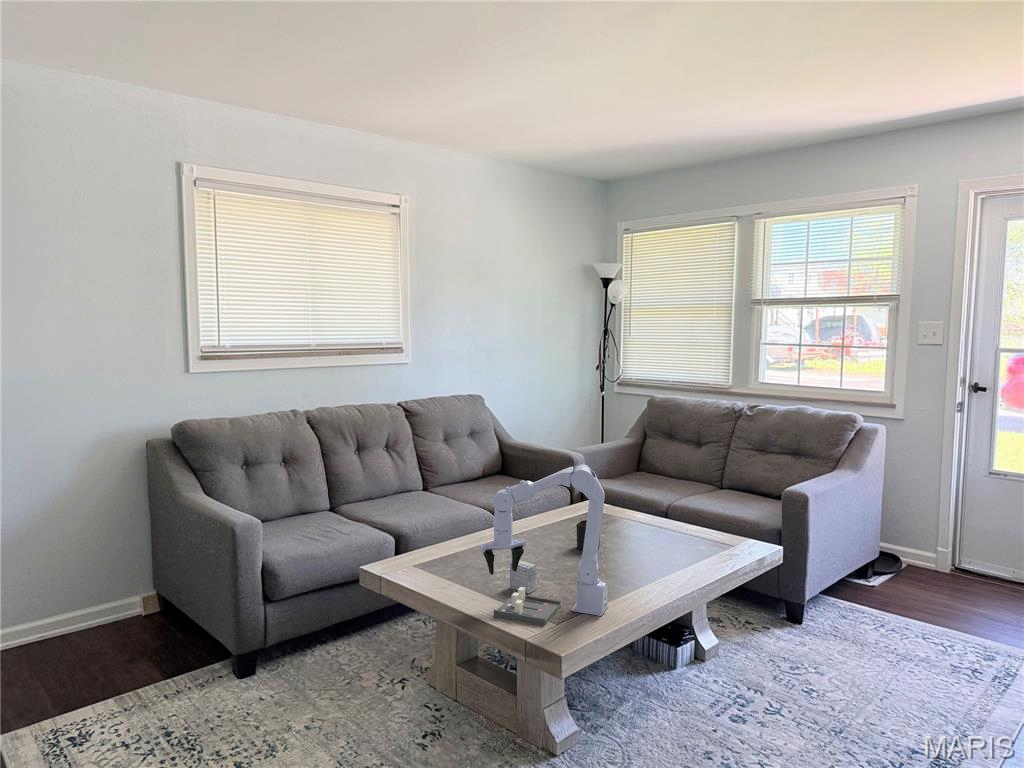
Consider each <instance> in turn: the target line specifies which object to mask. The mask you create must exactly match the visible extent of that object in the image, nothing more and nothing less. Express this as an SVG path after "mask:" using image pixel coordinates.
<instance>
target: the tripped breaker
mask: <svg viewBox="0 0 1024 768" xmlns="http://www.w3.org/2000/svg"><path fill="white" fill-rule="evenodd" d="M522 612H523V601H522V600H517V601H516V602H515V613H518V614H521V613H522Z"/></svg>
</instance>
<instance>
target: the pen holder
mask: <svg viewBox="0 0 1024 768" xmlns="http://www.w3.org/2000/svg"><path fill="white" fill-rule="evenodd" d="M586 523H587V519H584V520H581V521H579V522H578V523H576V547H577V549H578V550H579V549H580V550H579V551H581V550H583V547H584V539H585V531H586ZM600 541H601V537H600V538H599V546H598V550H599V549H600Z"/></svg>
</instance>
